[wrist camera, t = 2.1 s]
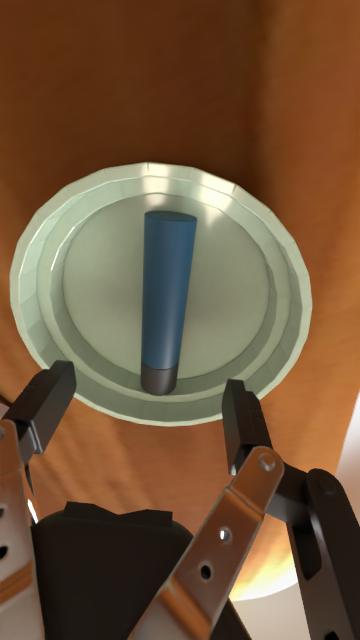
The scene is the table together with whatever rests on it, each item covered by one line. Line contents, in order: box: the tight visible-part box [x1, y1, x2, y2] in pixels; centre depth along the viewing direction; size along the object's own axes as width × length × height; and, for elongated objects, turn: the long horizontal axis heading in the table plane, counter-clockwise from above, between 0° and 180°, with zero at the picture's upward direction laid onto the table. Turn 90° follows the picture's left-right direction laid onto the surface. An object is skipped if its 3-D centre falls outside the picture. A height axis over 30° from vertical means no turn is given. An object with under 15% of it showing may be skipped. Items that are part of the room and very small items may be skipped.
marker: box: [140, 211, 197, 396], centre depth 19 cm, size 14×3×3 cm, turn 174°
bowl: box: [10, 162, 312, 426], centre depth 19 cm, size 19×19×4 cm
